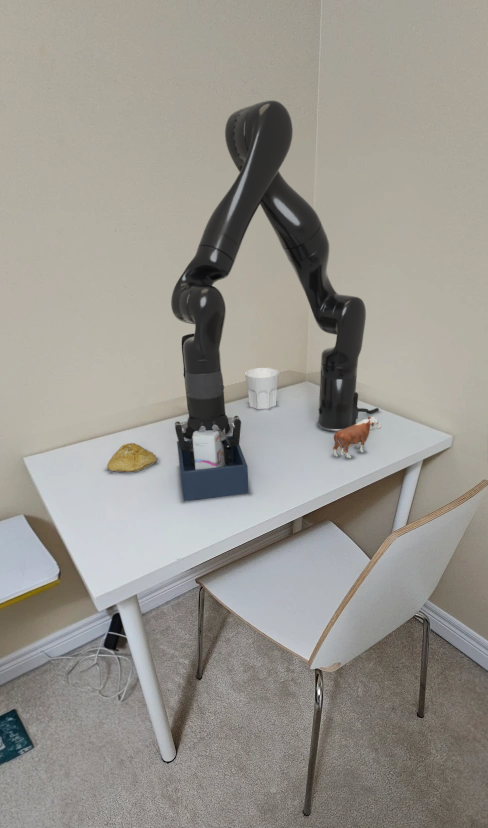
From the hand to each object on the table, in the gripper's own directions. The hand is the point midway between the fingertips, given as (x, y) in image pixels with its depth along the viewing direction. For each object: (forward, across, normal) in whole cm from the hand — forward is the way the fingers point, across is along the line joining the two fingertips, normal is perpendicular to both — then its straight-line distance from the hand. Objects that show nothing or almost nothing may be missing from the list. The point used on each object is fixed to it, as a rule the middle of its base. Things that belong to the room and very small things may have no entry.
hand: (211, 464), depth 104 cm
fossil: (+4, +18, -12) cm, 22 cm away
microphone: (+4, -1, -28) cm, 28 cm away
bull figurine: (+4, -35, -5) cm, 36 cm away
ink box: (+3, 0, 0) cm, 3 cm away
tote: (+4, 0, 0) cm, 4 cm away
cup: (+4, -20, -43) cm, 48 cm away
